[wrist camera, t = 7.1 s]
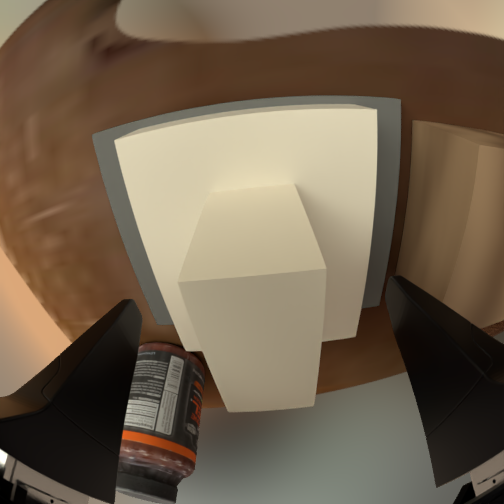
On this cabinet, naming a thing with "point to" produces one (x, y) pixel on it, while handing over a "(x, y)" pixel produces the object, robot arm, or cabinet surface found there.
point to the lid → (258, 238)
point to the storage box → (456, 219)
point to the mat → (385, 108)
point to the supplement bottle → (161, 423)
